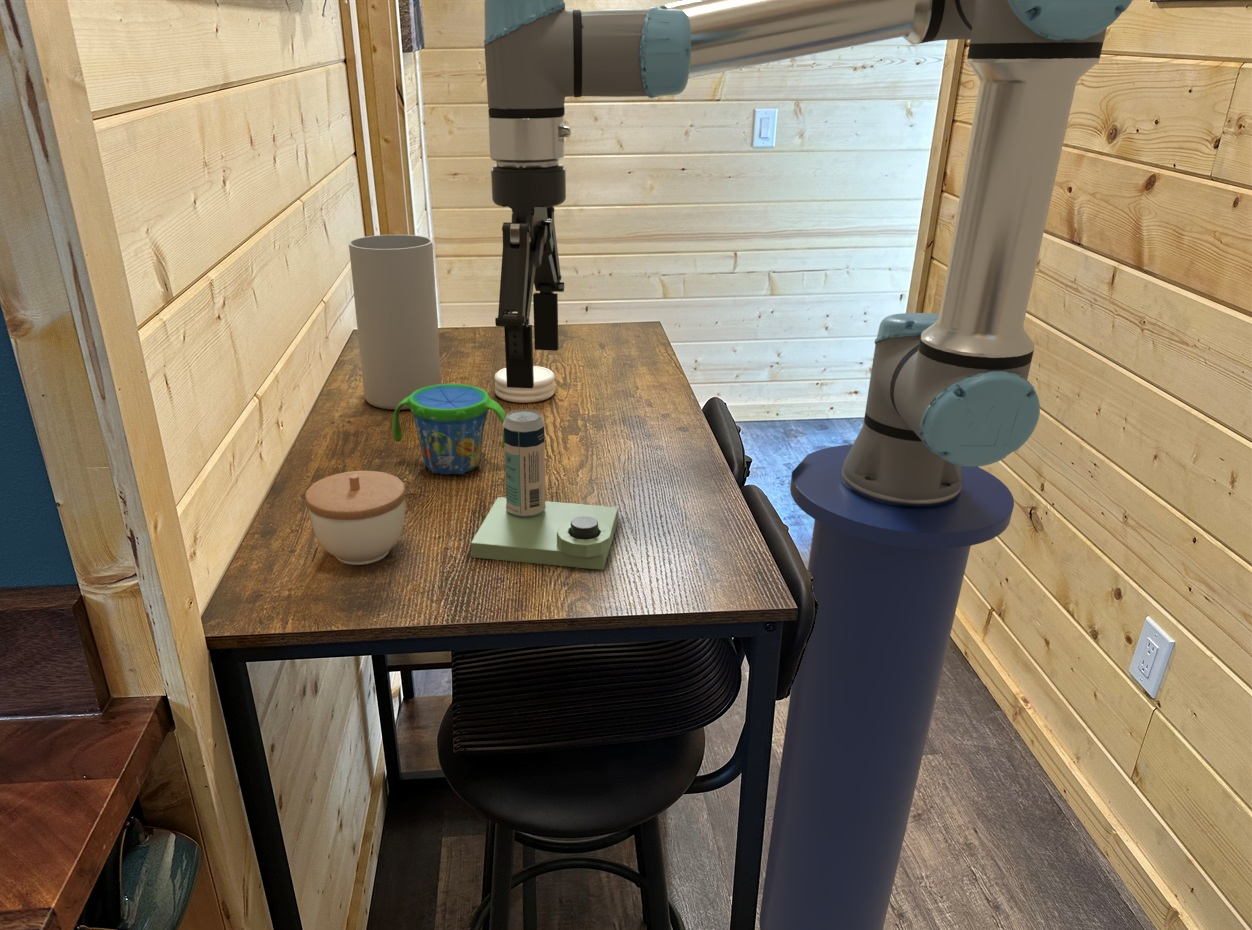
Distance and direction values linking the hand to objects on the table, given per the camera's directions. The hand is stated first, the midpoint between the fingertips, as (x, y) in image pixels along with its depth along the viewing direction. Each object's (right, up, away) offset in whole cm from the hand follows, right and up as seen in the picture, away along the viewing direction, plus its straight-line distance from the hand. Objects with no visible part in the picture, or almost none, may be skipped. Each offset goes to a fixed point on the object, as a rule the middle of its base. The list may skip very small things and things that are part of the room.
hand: (534, 367), depth 101 cm
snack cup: (-12, -10, +24) cm, 29 cm away
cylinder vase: (-23, +2, +49) cm, 54 cm away
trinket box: (-20, -21, +2) cm, 29 cm away
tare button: (+6, -19, 0) cm, 19 cm away
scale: (+1, -19, +5) cm, 20 cm away
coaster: (-4, +3, +51) cm, 51 cm away
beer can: (-1, -16, +8) cm, 18 cm away
